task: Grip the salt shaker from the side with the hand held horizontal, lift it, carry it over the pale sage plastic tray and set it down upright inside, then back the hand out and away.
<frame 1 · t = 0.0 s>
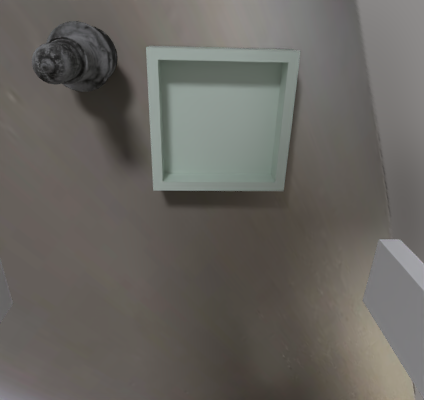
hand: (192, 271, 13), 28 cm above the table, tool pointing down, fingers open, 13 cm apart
salt shaker: (90, 55, 35), on the table
tray: (219, 118, 38), on the table
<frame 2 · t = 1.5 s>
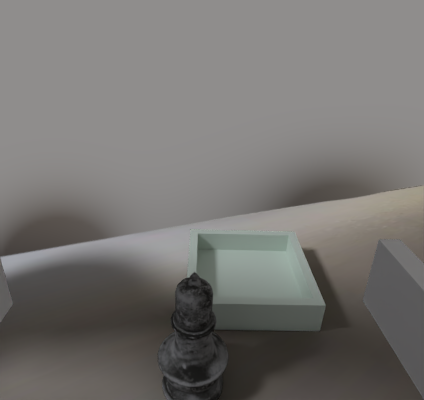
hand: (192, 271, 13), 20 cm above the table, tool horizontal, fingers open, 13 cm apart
salt shaker: (192, 384, 31), on the table
tray: (245, 285, 43), on the table
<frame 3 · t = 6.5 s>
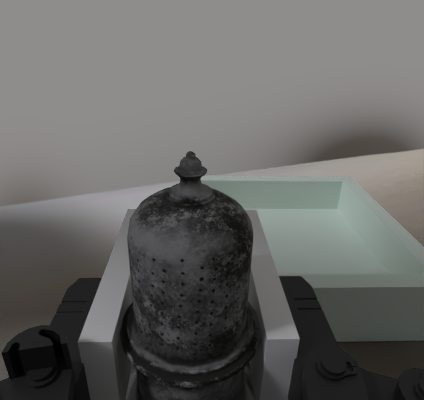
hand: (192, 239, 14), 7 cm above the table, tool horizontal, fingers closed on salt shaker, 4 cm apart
tray: (280, 261, 24), on the table
when the fingers open (9 cm above the table, at t = 10.4 s): salt shaker drops 2 cm, resting on tray.
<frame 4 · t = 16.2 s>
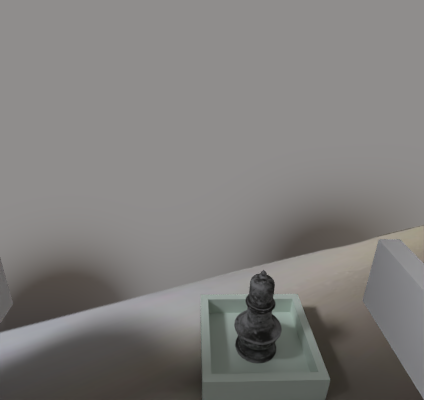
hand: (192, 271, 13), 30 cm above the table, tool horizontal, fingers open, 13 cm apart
salt shaker: (255, 347, 46), point 1 cm above the table, touching tray
tray: (254, 351, 46), on the table
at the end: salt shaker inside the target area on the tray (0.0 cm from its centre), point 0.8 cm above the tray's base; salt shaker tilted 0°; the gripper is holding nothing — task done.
